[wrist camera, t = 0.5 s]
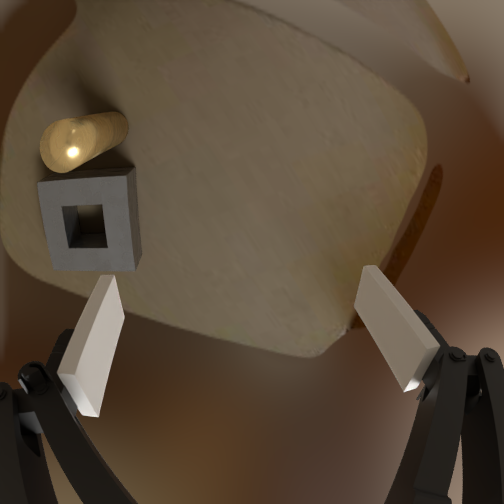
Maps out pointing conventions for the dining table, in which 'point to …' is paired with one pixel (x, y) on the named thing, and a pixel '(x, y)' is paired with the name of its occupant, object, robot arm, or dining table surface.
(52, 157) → the brass cylinder rod
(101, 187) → the block
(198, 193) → the dining table surface
